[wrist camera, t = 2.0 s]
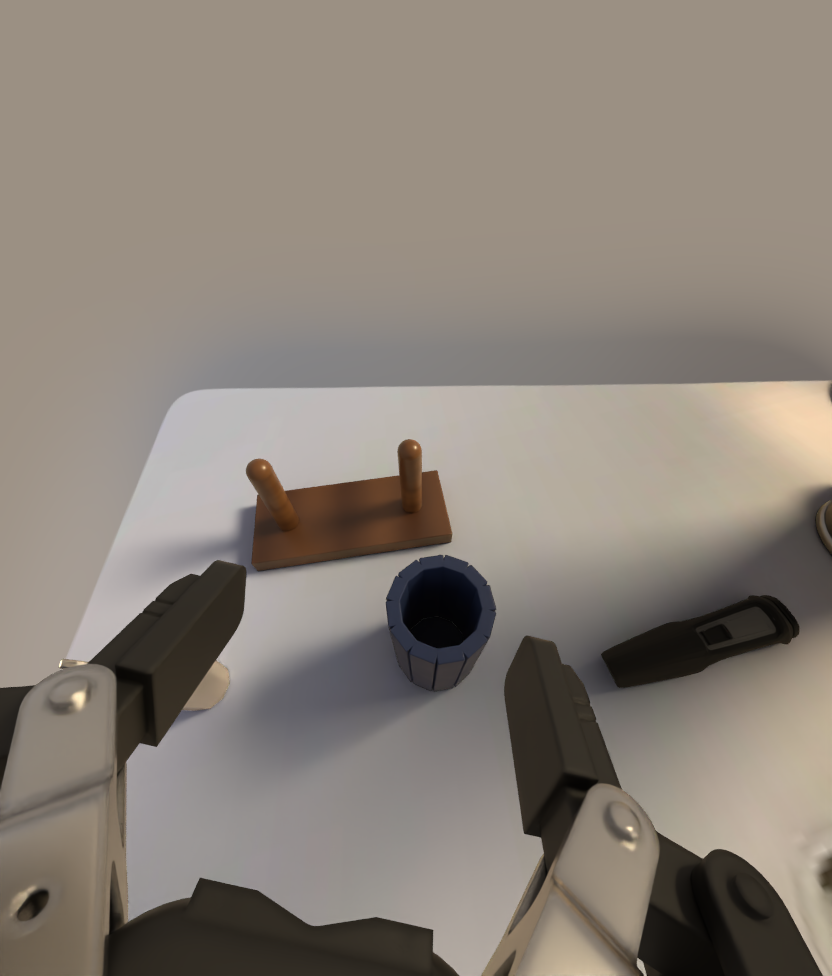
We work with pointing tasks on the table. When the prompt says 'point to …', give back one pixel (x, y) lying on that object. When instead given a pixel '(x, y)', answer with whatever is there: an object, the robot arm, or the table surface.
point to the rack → (347, 515)
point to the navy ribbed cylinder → (448, 596)
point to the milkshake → (204, 694)
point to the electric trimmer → (700, 641)
